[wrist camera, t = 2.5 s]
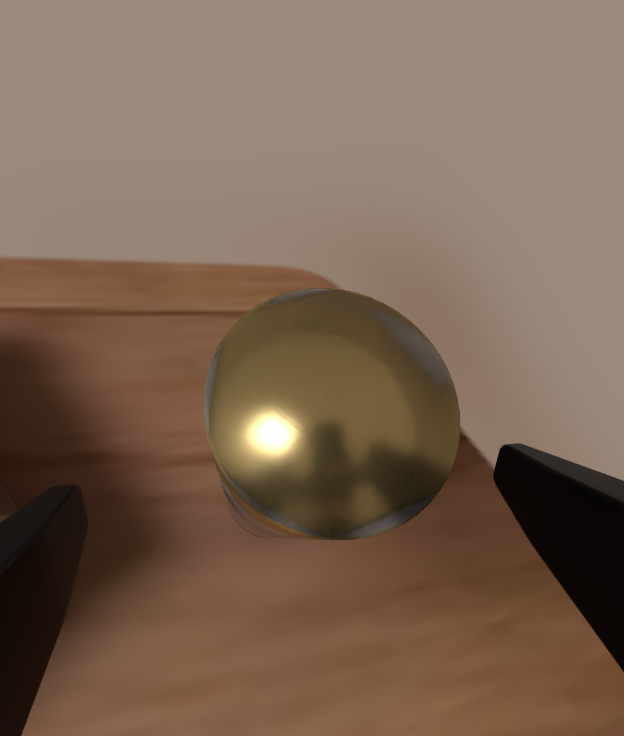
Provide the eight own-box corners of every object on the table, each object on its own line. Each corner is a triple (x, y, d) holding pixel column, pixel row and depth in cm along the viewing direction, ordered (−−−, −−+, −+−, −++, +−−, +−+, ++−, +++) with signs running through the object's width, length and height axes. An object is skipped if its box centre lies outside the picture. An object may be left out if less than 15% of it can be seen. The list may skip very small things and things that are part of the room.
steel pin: (336, 494, 17) (507, 419, 6) (264, 561, 16) (328, 613, 5) (279, 424, 18) (344, 252, 7) (205, 482, 16) (146, 372, 6)
